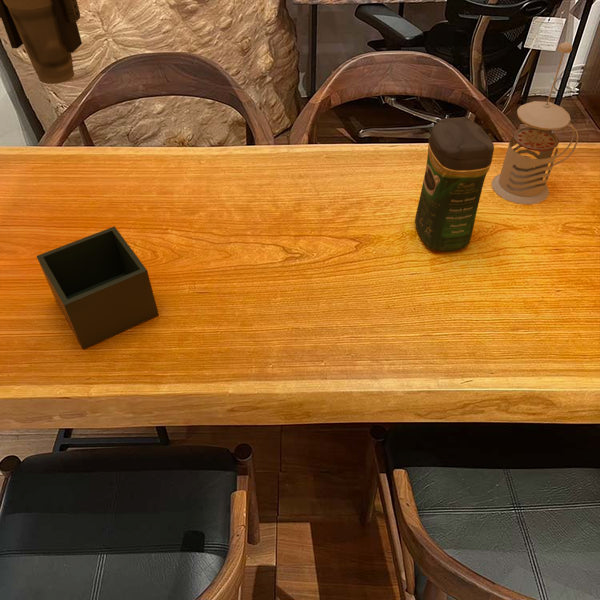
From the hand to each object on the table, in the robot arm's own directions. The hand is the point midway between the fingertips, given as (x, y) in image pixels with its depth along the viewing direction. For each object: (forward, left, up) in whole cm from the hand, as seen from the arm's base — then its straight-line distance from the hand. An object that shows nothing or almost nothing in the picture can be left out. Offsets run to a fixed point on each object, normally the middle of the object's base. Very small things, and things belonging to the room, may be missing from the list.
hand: (47, 45), depth 74 cm
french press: (+32, +65, -29) cm, 78 cm away
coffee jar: (+33, +44, -29) cm, 62 cm away
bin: (+18, -6, -29) cm, 35 cm away
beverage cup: (0, 0, -4) cm, 4 cm away
